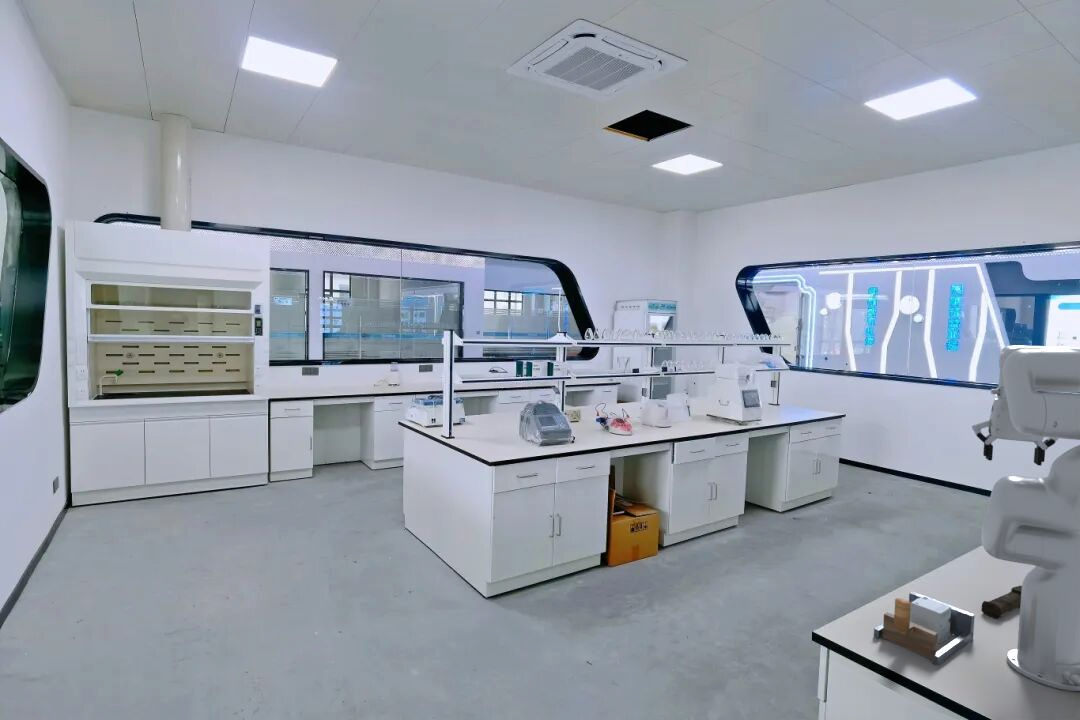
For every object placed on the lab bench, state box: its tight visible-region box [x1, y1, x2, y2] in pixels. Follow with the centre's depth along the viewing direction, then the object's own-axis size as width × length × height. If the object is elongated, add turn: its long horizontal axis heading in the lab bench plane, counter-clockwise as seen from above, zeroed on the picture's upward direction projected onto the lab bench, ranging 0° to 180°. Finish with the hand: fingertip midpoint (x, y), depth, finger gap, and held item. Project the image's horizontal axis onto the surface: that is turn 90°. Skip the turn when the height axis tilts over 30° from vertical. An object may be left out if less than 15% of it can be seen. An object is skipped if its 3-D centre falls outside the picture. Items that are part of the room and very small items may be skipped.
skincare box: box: [910, 596, 951, 645], centre depth 126 cm, size 6×6×7 cm
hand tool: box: [980, 585, 1022, 620], centre depth 139 cm, size 19×4×5 cm, turn 115°
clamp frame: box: [873, 591, 976, 667], centre depth 125 cm, size 18×13×6 cm
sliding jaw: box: [882, 597, 938, 661], centre depth 119 cm, size 6×10×12 cm, turn 33°
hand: (1012, 461), depth 140 cm, fingers open, 9 cm apart
